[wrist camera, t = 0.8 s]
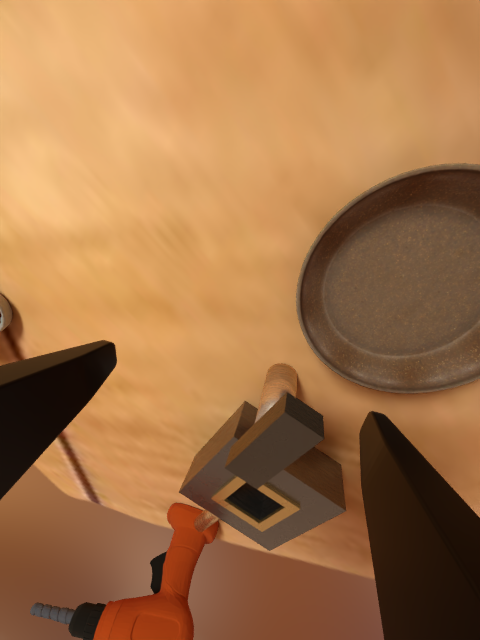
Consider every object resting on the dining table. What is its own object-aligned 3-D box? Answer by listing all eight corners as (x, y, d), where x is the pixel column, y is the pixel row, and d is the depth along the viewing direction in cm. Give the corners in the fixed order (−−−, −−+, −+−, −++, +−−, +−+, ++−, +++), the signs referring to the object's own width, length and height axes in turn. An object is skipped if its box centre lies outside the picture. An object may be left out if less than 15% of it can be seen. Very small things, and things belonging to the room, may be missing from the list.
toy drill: (96, 484, 38) (-1, 641, 25) (221, 508, 37) (191, 686, 24) (100, 503, 40) (14, 657, 27) (219, 526, 39) (190, 699, 26)
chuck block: (340, 464, 27) (346, 514, 22) (241, 529, 36) (232, 572, 32) (245, 401, 26) (232, 439, 22) (170, 482, 36) (151, 520, 32)
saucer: (490, 105, 14) (527, 85, 11) (568, 324, 17) (610, 344, 15) (262, 255, 20) (255, 263, 18) (350, 394, 23) (355, 417, 21)
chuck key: (319, 359, 22) (324, 438, 15) (272, 406, 26) (257, 489, 18) (293, 341, 22) (284, 412, 15) (249, 390, 26) (224, 467, 18)
